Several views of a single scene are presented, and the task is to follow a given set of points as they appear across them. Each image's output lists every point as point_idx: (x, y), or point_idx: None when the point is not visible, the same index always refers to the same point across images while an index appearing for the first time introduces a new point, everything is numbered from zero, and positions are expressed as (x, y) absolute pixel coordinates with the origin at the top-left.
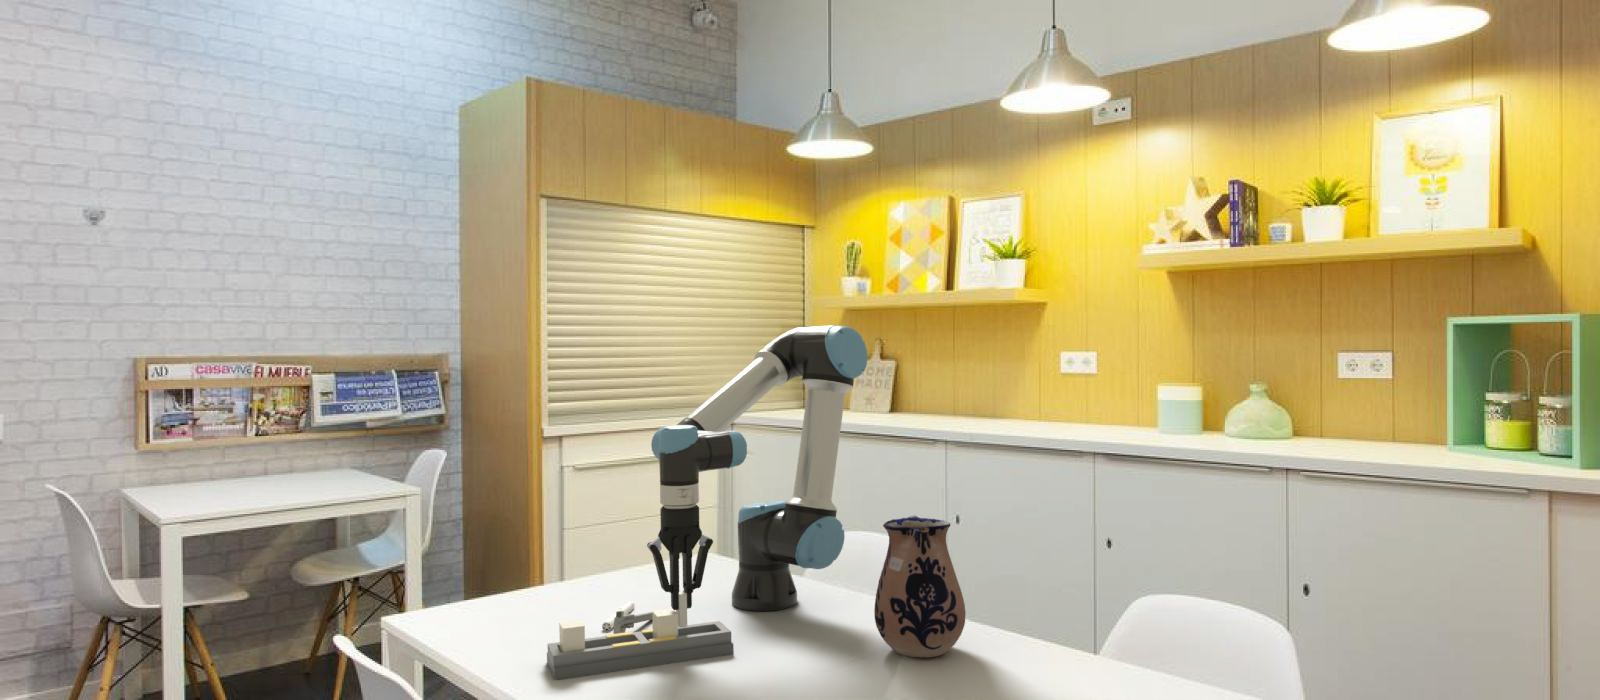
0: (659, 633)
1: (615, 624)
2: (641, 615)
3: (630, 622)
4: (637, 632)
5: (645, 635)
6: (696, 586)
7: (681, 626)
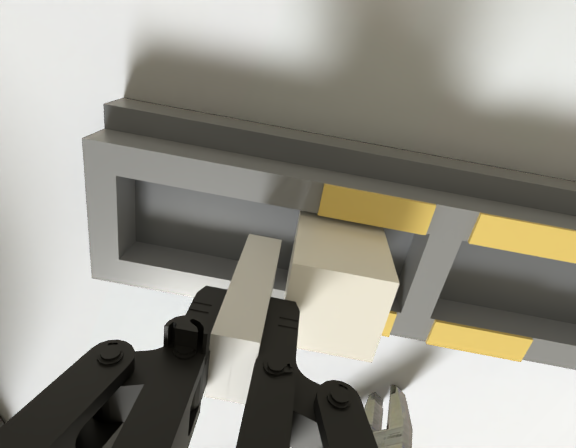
0: (379, 239)
1: (408, 435)
2: None
3: None
4: (407, 331)
5: None
6: (126, 353)
7: (274, 240)
